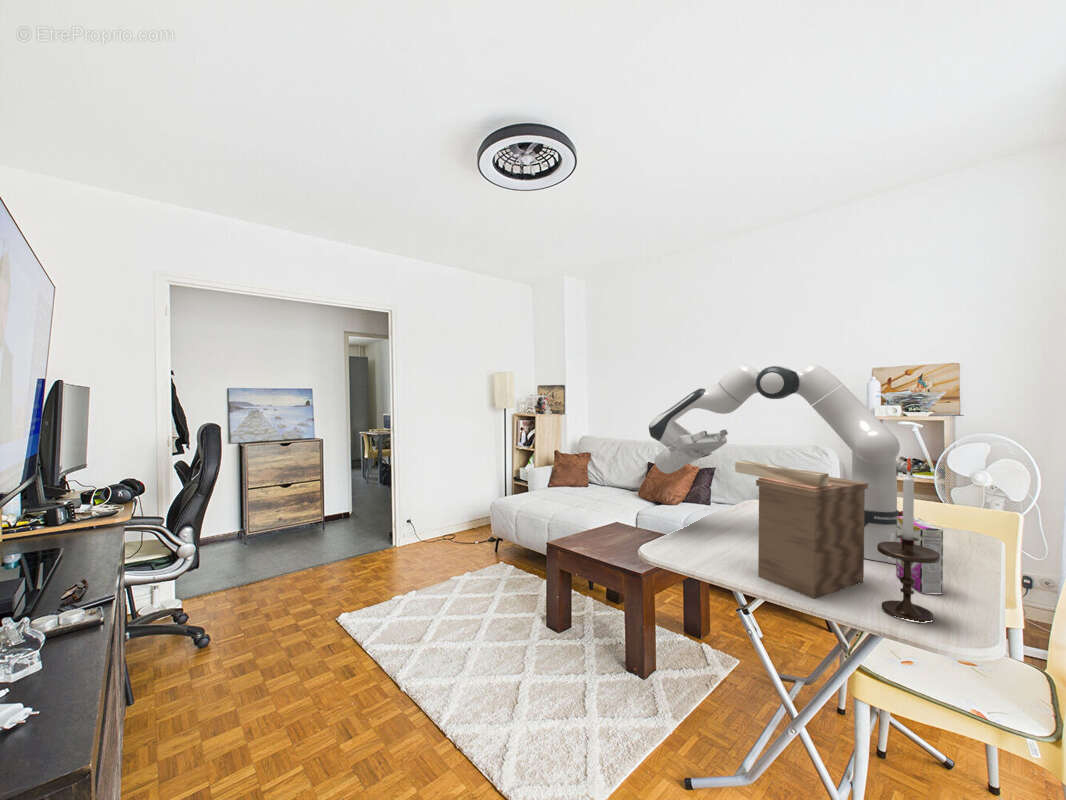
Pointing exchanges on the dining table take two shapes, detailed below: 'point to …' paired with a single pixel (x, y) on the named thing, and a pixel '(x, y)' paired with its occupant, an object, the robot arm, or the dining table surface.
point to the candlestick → (908, 558)
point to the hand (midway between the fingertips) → (715, 432)
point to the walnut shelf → (811, 535)
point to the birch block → (783, 473)
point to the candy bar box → (924, 573)
